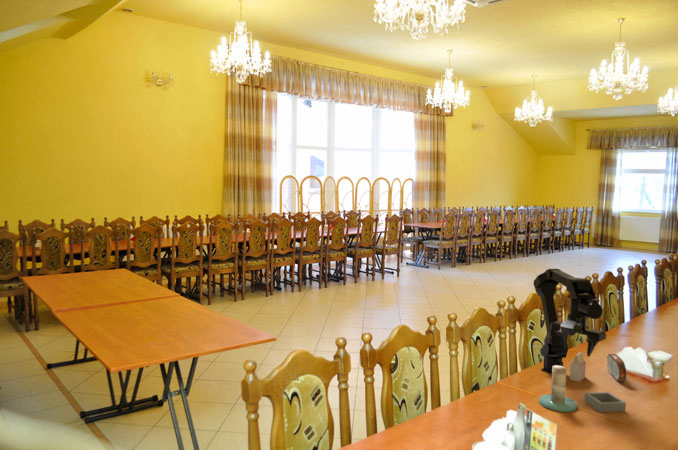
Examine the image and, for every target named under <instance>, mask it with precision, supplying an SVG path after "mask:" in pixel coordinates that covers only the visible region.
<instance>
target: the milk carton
mask: <svg viewBox="0 0 678 450" xmlns="http://www.w3.org/2000/svg"><path fill="white" fill-rule="evenodd" d="M586 364H587V363H586V359H585V357H584V355H583V352H582V351H580V352H578V353H577V354H576V355H575V357H574V358H573V361H572V362H571V363H570V367H569V380H570V381H574V382H577V383H581V382H582V381H583V380H584V379H585V378H586V367H587V366H586Z"/></svg>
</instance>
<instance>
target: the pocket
mask: <svg viewBox="0 0 678 450" xmlns="http://www.w3.org/2000/svg"><path fill="white" fill-rule="evenodd" d="M583 402H585V403H586V404H588V405H589V406H590V407H592V408H593V407H594V409H595V410H596V411H598V412H599V413H616V412H618V413H619V412H626V407H627V406H626V405H627V404H626V402H625V401H624V400H623V399H620V398H619V397H617V396H616V395H614V394H612V393H611V392H609V391H599V392H597V391H596V392H595V391H594V392H584V401H583Z"/></svg>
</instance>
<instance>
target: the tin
mask: <svg viewBox="0 0 678 450" xmlns="http://www.w3.org/2000/svg"><path fill="white" fill-rule="evenodd" d="M606 357H607V370H608V372H609V374H610V375H611V377H613V378H614V379H615V380H616V381H617V382H626V380H627V367H626V364H625V362H624V360H623V359H622V358H621V357H620V356H619V355H618V354H617V353H608V355H607V356H606Z"/></svg>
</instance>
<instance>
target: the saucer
mask: <svg viewBox="0 0 678 450" xmlns="http://www.w3.org/2000/svg"><path fill="white" fill-rule="evenodd" d="M538 399H539V400H538V403H539V404H540V405H541V406H542V407H543V408H546V409H548V410H551V411H554V412H558V413H559V412H560V413H561V412H562V413H571V412H575V411H576V410H577V408H578V403H577V402H576V401H575V400H574V399H572V398H570V397H567V396H565V403H564V404H556V403H553V402H552V401H551V394H542V395H540V396H539V398H538Z"/></svg>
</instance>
